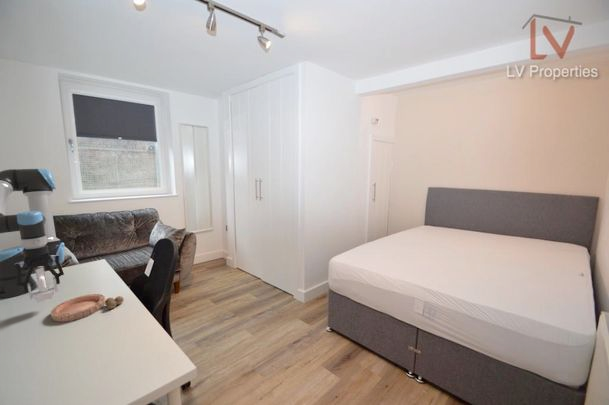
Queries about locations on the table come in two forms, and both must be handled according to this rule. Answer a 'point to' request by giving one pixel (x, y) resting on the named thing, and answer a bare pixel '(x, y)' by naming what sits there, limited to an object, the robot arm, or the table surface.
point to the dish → (78, 307)
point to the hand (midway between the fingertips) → (44, 294)
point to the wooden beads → (113, 302)
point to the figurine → (42, 286)
